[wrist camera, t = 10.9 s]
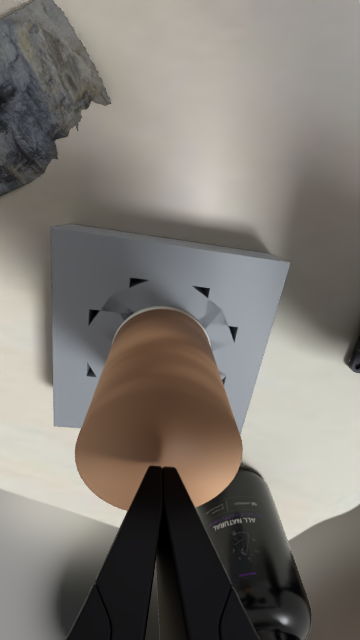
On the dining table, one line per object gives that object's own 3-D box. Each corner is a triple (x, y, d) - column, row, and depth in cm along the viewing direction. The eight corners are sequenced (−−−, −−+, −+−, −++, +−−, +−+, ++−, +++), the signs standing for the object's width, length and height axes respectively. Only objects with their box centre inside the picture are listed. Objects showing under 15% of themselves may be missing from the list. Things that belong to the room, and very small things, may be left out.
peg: (211, 298, 18) (262, 396, 9) (196, 373, 20) (224, 519, 11) (122, 286, 17) (74, 378, 8) (115, 365, 19) (72, 511, 10)
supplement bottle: (227, 452, 24) (285, 674, 12) (283, 486, 25) (376, 705, 14) (175, 499, 25) (184, 730, 14) (231, 528, 27) (277, 752, 16)
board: (270, 253, 17) (290, 262, 15) (229, 410, 22) (238, 440, 19) (70, 223, 16) (50, 227, 13) (68, 396, 21) (53, 426, 18)
